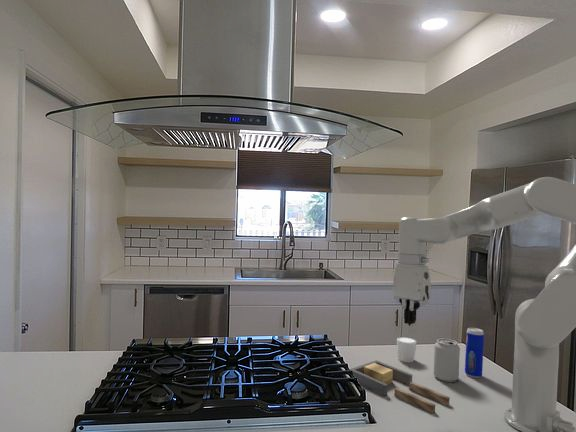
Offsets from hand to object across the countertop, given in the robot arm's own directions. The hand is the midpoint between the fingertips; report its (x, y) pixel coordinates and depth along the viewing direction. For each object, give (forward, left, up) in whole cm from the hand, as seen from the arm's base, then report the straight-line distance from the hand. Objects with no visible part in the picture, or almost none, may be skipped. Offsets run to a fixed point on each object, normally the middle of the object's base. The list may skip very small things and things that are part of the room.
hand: (409, 323), depth 115 cm
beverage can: (-5, -30, -21) cm, 37 cm away
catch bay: (+9, 0, -21) cm, 23 cm away
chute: (-5, 0, -21) cm, 21 cm away
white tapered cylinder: (+16, -23, -21) cm, 35 cm away
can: (-1, -20, -21) cm, 29 cm away
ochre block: (+11, 0, -21) cm, 23 cm away
